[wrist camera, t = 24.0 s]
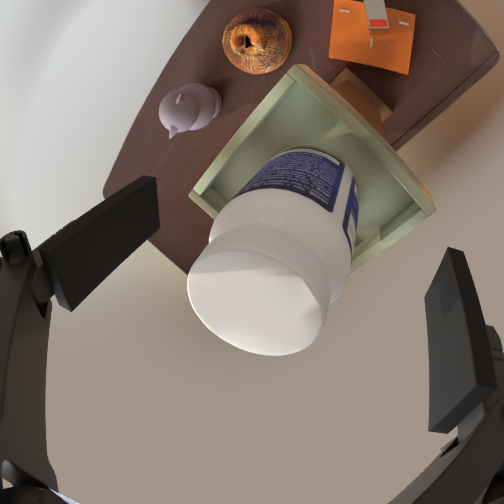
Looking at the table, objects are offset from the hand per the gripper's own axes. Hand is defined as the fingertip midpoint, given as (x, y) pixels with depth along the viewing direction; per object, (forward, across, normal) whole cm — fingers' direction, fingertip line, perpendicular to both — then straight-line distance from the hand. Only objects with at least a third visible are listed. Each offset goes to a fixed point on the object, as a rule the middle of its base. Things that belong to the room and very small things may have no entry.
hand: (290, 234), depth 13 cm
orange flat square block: (+41, +2, +14) cm, 44 cm away
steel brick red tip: (+39, +2, +16) cm, 42 cm away
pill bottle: (+6, 0, 0) cm, 6 cm away
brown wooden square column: (+42, 0, 0) cm, 42 cm away
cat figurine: (+42, -25, -3) cm, 49 cm away
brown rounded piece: (+42, -16, +9) cm, 46 cm away
